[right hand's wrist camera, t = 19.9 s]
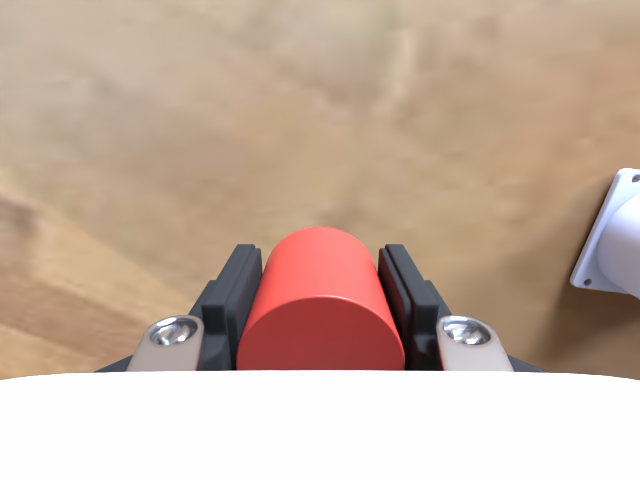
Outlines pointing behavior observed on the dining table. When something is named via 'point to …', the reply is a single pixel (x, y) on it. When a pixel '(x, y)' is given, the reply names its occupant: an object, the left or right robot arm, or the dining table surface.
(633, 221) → the left robot arm
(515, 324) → the dining table surface
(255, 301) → the canister
